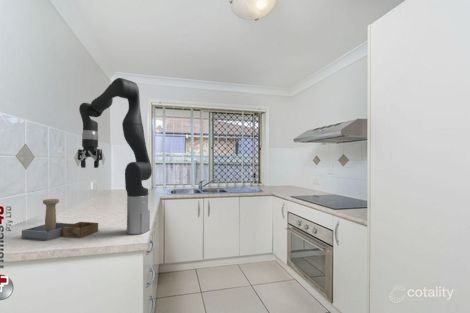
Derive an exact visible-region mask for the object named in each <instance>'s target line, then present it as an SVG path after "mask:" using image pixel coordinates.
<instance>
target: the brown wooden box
mask: <svg viewBox="0 0 470 313" xmlns="http://www.w3.org/2000/svg"><path fill="white" fill-rule="evenodd" d="M97 232H99V222H91V221H90V222H89V221H79V222H75V223H71V225H68V226H64V227H62V236H61V237H66V238H67V237H69V238H77V239H78V238H79V239H80V238H81V239H82V238H83V237H87V236H89V235H93V234H95V233H97Z"/></svg>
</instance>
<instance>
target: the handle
mask: <svg viewBox="0 0 470 313" xmlns="http://www.w3.org/2000/svg"><path fill="white" fill-rule="evenodd" d="M59 202H60V200H59V199H57V198H47V199H43V200H42V203H43V205H44V206H45V215H44V216H45V217H44V224H45V229H46V232H49V231H52V230H55V227H56V223H57V213H56V210H57V209H56V205H57V204H58V203H59Z"/></svg>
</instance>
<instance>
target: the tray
mask: <svg viewBox="0 0 470 313" xmlns="http://www.w3.org/2000/svg"><path fill="white" fill-rule="evenodd" d="M71 224H72V223H69V222H68V223H67V222H56V227H55V230H52V231H49V232H46V229H45V223H44V224H42V225H41V224H40V225H37V226H33V227H30V228H26V229H22V230H21V239H24V240H25V239H26V240H35V241H46V242H47V241H50V240H54V239H57V238H60V237H63V236H62V227H64V226H68V225H71Z"/></svg>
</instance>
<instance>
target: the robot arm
mask: <svg viewBox="0 0 470 313" xmlns="http://www.w3.org/2000/svg"><path fill="white" fill-rule="evenodd" d="M117 97H118V98H122V99H125V100H126V99H127V102H128V110H127V112H126V114H125V116H124V117H123V120H122V123H121V124H122V131H123V137H124V140H125V141H126V143H127V145H128V147H130V148H131V149H130V150H132V152H133V154H134V158H135V161H131V162H129V163H127V165H126V166H125V170H124V184H125V185H124V187H125V191H126V194H127V196H126V197H127V198H126V233H127V235H142V234H144V233H146V232H149V231H150V230H151V228H150V226H151V224H150V223H151V211H150V209H149V189H148V188H146V187H144V185H143V181H147V180H149V179H150V178H151V177H152V173H153V168H152V164H151V161H150V157H149V153H148V149H147V143H146V138H145V132H144V125H143V121H142V120H143V119H142V114H141V113H142V112H141V111H142V110H141V104H140V103H141V102H140V101H141V100H140V90H139V86H138V84H137V83H136V82H134V81H132V80H130V79H129V80H128V79H126V78H123V77H117V78H115V79H114V80H113V81H112V82H111V83H110V84H109V85H108V86H107V88H106V89H105V90H104V91H103V92H102V93H101V94H100V95H98V96H97V97H95V98H94V99H93V100H92V101H91V102H82V103H81V104H80V105H79V106H78V107H79V110H78V111H79V115H80V118H81V121H82V134H81V137H82V138H81V146H82V149H81V148H78V149H77V158H76V159H77V161H80V168H82V169H86V166H87V165H86V164H87V159H88V158H92V159H93V168H94V169H98V168H99V166H100V163H99V162H100V161H102V160H103V149H102V148H98V147H99V133H98V132H99V130H98V129H99V123H98V122H97V121H96V120H94V119H91V117H93V118H99V117H101V116H102V115H103V113H104V111H105V110H107V109H109V108H110V107H111V106H112V105H113V100H114V98H117Z"/></svg>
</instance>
